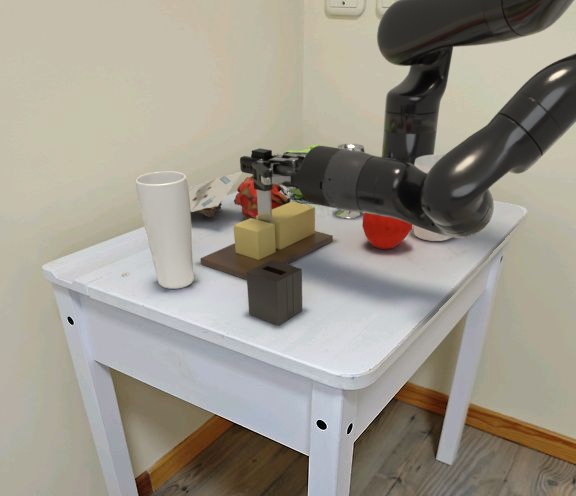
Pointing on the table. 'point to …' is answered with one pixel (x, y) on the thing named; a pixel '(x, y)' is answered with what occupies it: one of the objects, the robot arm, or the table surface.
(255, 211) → the dragon fruit
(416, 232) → the cup
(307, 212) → the butter block
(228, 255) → the butter board
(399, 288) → the table surface
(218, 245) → the table surface
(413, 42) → the robot arm
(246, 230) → the butter slice
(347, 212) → the wineglass
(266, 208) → the knife
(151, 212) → the white tall tumbler
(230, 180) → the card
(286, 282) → the knife block
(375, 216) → the apple
